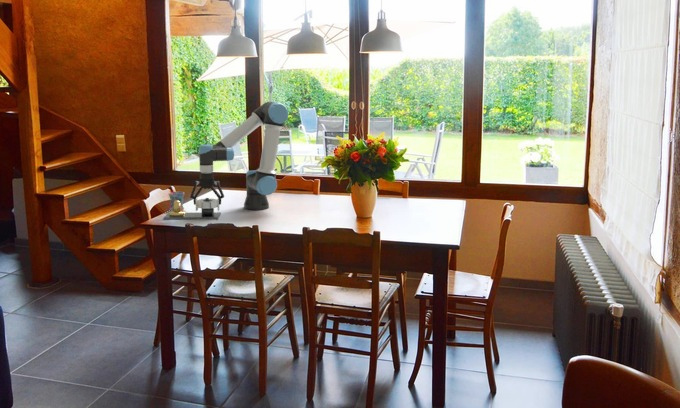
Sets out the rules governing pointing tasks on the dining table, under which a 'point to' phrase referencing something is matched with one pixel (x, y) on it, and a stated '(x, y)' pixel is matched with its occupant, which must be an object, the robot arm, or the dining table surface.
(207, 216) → the grey peg stand
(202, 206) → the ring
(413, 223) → the dining table surface
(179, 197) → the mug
